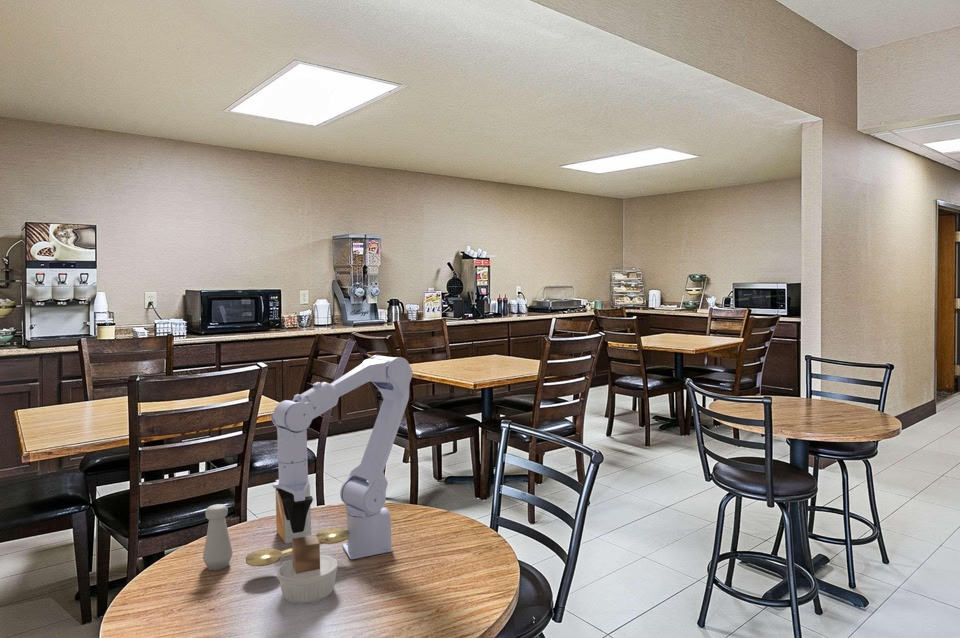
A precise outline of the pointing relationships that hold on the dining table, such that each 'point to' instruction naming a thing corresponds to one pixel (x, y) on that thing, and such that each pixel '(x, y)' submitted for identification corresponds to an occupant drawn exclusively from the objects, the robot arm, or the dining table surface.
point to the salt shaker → (217, 539)
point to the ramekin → (308, 581)
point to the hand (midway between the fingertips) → (294, 525)
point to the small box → (284, 524)
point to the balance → (275, 555)
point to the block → (306, 554)
